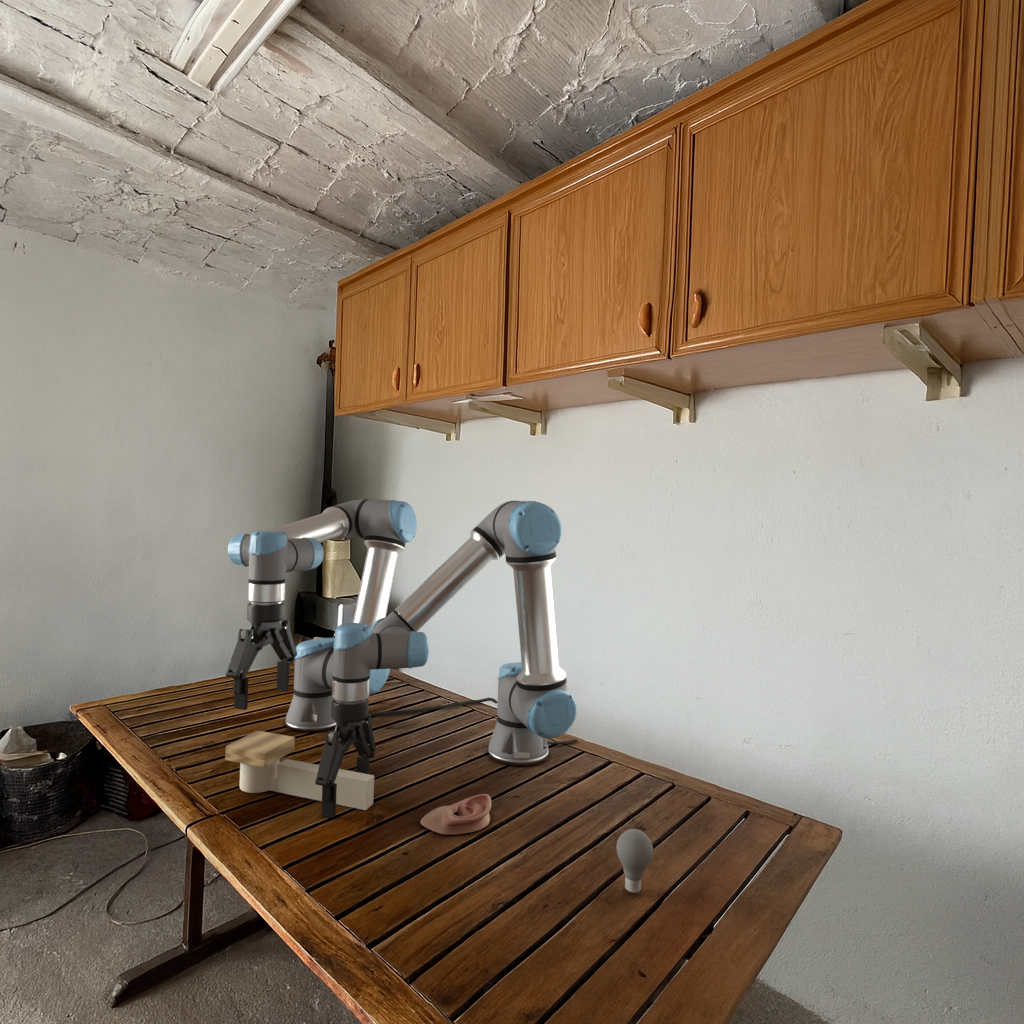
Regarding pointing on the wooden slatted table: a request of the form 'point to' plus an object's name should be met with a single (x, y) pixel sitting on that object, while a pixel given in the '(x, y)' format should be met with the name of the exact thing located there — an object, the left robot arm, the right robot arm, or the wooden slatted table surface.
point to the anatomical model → (460, 816)
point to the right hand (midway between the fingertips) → (345, 801)
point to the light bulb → (634, 857)
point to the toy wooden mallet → (307, 782)
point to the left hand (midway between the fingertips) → (262, 699)
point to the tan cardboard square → (259, 748)
